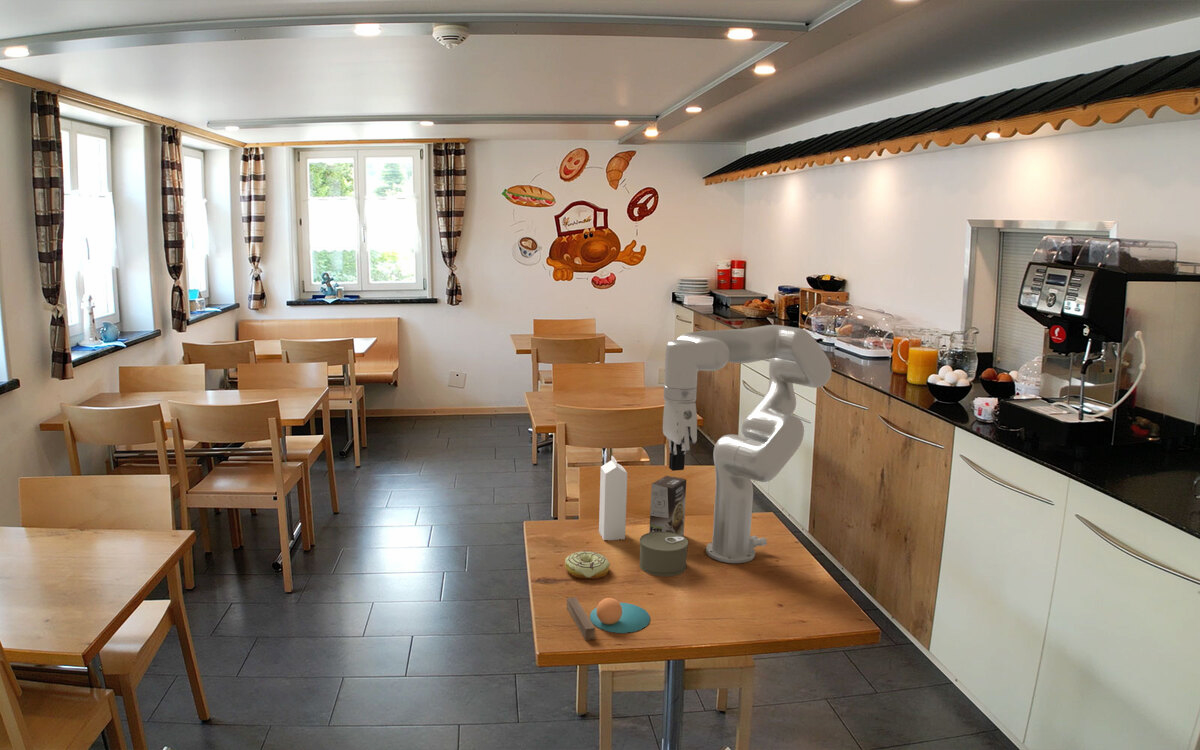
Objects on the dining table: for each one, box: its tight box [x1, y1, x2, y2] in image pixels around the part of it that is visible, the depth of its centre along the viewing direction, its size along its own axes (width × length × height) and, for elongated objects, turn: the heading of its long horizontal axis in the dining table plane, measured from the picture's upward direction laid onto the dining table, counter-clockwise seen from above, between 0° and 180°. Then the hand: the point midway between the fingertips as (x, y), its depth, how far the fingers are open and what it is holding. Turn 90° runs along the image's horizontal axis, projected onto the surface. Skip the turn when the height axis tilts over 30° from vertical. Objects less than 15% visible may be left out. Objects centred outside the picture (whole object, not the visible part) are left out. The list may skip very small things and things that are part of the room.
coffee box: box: [648, 475, 687, 537], centre depth 217 cm, size 9×6×16 cm
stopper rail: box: [566, 596, 596, 641], centre depth 172 cm, size 2×14×2 cm, turn 18°
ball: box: [596, 597, 622, 625], centre depth 172 cm, size 6×6×6 cm
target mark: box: [589, 602, 651, 634], centre depth 175 cm, size 13×13×1 cm
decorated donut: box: [564, 551, 611, 580], centre depth 197 cm, size 10×11×4 cm
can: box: [639, 531, 689, 577], centre depth 201 cm, size 12×12×7 cm
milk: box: [598, 455, 628, 541], centre depth 217 cm, size 6×6×22 cm
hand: (676, 469), depth 190 cm, fingers closed
